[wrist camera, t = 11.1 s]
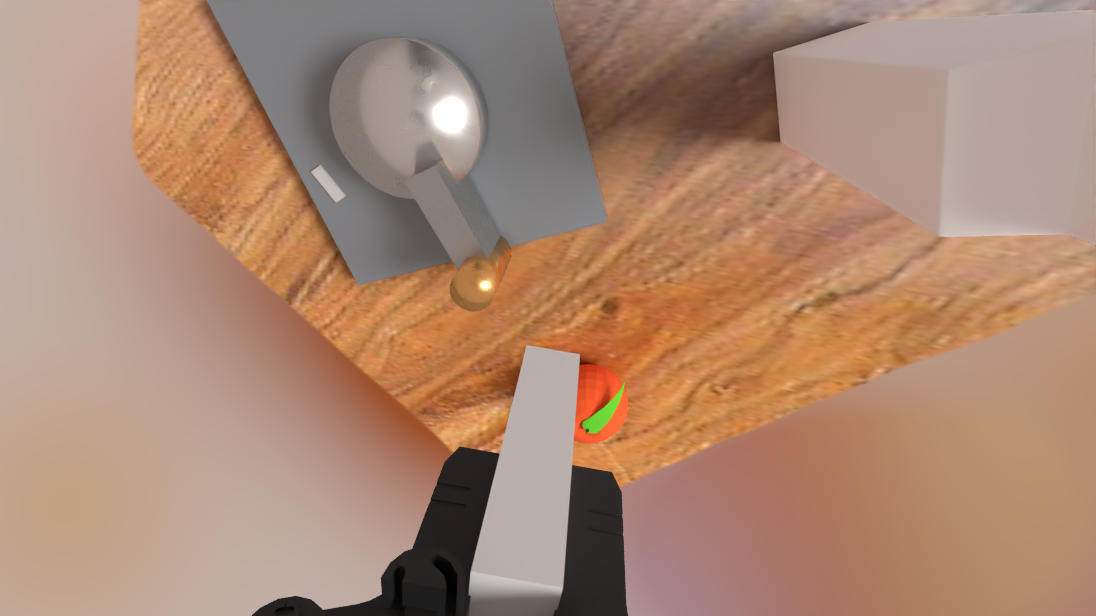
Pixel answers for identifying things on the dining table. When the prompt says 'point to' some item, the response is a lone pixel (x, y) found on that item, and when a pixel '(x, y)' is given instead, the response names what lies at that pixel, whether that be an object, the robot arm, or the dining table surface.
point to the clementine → (598, 404)
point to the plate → (509, 91)
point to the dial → (423, 148)
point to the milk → (954, 119)
